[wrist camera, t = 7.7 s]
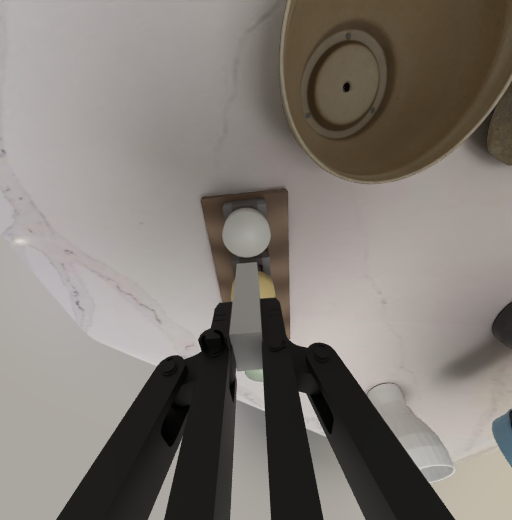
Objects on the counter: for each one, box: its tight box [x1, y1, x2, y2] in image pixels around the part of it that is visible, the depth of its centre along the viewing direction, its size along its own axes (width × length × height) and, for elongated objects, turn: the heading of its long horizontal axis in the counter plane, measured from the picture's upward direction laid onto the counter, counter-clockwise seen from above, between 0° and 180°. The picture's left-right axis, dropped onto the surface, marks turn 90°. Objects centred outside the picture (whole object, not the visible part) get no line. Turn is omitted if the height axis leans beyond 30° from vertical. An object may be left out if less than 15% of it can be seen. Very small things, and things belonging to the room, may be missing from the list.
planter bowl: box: [279, 0, 512, 184], centre depth 18 cm, size 16×16×11 cm
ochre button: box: [231, 265, 276, 302], centre depth 27 cm, size 5×5×5 cm
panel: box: [201, 189, 290, 339], centre depth 33 cm, size 27×11×4 cm, turn 5°
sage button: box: [245, 369, 263, 382], centre depth 34 cm, size 5×5×5 cm
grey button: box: [222, 208, 271, 257], centre depth 25 cm, size 5×5×5 cm
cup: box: [367, 383, 455, 483], centre depth 46 cm, size 11×11×15 cm
